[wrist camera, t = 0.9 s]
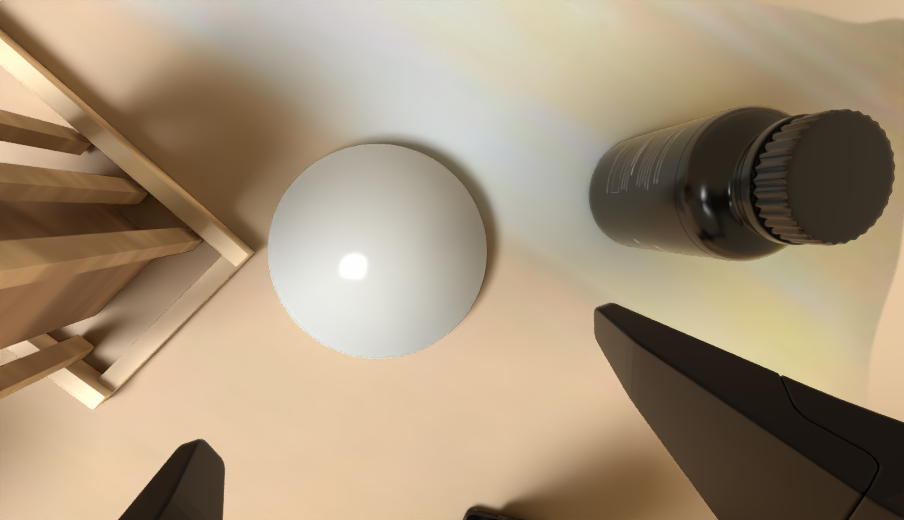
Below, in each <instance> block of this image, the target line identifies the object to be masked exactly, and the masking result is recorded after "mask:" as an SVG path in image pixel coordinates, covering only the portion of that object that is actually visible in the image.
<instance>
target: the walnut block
mask: <svg viewBox="0 0 904 520" xmlns="http://www.w3.org/2000/svg"><path fill="white" fill-rule="evenodd" d="M138 230H139V229H138V228H136V227H135V226H134V225H133V224H132V223H130V222H129V221H128V220H127V219H126V218H124V217H123V216H122V215H121V214H120V213H118V212H117V211H116V210H115V209H114V208H112V207H111V206H110V205H109V204H107V203H73V202H39V201H6V200H0V241H7V240H20V239H33V238H46V237H60V236H73V235H86V234H99V233H112V232H125V231H138ZM151 260H152V259H148V260H143V261H138V262H133V263H128V264H123V265H118V266H113V267H108V268H103V269H98V270H93V271H88V272H83V273H78V274H73V275H68V276H63V277H58V278H53V279H48V280H43V281H38V282H33V283H29V284H24V285H19V286H14V287H9V288H4V289H0V349H3V348H6V347H9V346H12V345H14V344H17V343H20V342H23V341H26V340H28V339H31V338H34V337H37V336H40V335H42V334H45V333H48V332H51V331H53V330H56V329H59V328H62V327H65V326H67V325H70V324H73V323H76V322H79V321H81V320H84V319H87V318H90V317H93V316H95V315H96V314H97V313H98V312H99V311H100V310H101V309H102V308H103V307H104V306H105V305H106V304H107V303H108V302H109V301H110V300H111V299H112V298H113V297H114V296H115V295H116V294H117V293H118V292H119V291H120V290H121V289H122V288H123V287H124V286H125V285H126V284H127V283H128V282H129V281H130V280H131V279H132V278H133V277H134V276H135V275H136V274H137V273H138V272H140V271H141V270H142V269H143V268H144V267H145V266H146V265H147V264H148V263H149V262H150V261H151Z"/></svg>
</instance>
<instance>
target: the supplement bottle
mask: <svg viewBox="0 0 904 520" xmlns="http://www.w3.org/2000/svg"><path fill="white" fill-rule="evenodd" d="M893 156H894V153H893V151H892V149H891V145H890V141H889V140H888V138H887V137H886V133H885V131H884V130H883V129H881V128H880V126H879V124H878V122H876V121H873V120H872V119H871V117H870V116H869V115H863V114H862V113H861V112H860V111H851V110H849V109H842V110H830V111H825V112H821V113H816V114H802V115H796V116H791V115H789V114H787V113H785V112H783V111H780V110H778V109H775V108H771V107H766V106H743V107H738V108H734V109H730V110H726V111H723V112H719V113H716V114H712V115H709V116H705V117H702V118H698V119H695V120H692V121H688V122H685V123H681V124H678V125H674V126H671V127H668V128H664V129H661V130H657V131H654V132H651V133H647V134H644V135H640V136H637V137H634V138H631V139H628V140H625V141H623V142H621V143H619V144H617V145H616V146H614V147H613V148H612V149H610V150H609V151H608V152H607V153H606V154H605V155H604V156H603V157H602V159H601V160H600V161H599V163H598V165H597V166H596V168H595V170H594V173H593V175H592V179H591V182H590V189H589V201H590V207H591V211H592V214H593V217H594V219H595V221H596V223H597V225H598V226H599V228H600V229H601V230H602V231H603V232H604V233H605V234H606V235H607V236H608V237H609V238H611V239H612V240H614V241H616V242H618V243H620V244H622V245H626V246H630V247H636V248H642V249H649V250H657V251H664V252H671V253H679V254H686V255H693V256H700V257H708V258H715V259H722V260H732V261H750V260H756V259H760V258H763V257H767V256H769V255H771V254H774V253H776V252H778V251H780V250H781V249H783V248H785V247H786V246H788V245H789V244H790V245H802V244H814V245H836V244H845V243H847V242H848V241H850V240H856V239H857V238H858V237H859V236H860V235H862V234H865V233H866V232H867V230H868V229H869V228H870V227H872V226H873V225H874V224H875V222H876V220H877V219H878V218H879V217H880V216H881V215H882V213H883V210H884V208H885V207H886V205H887V204H888V200H889V196H890V195H891V193H892V184H893V182H894V179H895V178H894V169H895V164H894V161H893Z"/></svg>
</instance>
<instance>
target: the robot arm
mask: <svg viewBox="0 0 904 520" xmlns="http://www.w3.org/2000/svg"><path fill="white" fill-rule="evenodd" d="M594 332H595V337H596V340H597V342H598V344H599V346H600V348H601V349H602V351H603V353H604V355H605V356H606V358H607V360H608V362H609V363H610V365H611V367H612V369H613V370H614V372H615V374H616V375H617V377H618V379H619V381H620V382H621V384H622V386H623V388H624V389H625V391H626V393H627V394H628V396H629V398H630V399H631V401H632V402H633V403H634V405H635V406H636V408H637V409H638V410H639V412H640V413H641V415H642V416H643V417H644V419H645V420H646V421H647V423H648V424H649V425H650V427H651V428H652V430H653V431H654V432H655V434H656V435H657V436H658V438H659V439H660V441H661V442H662V443H663V445H664V446H665V447H666V449H667V450H668V451H669V453H670V454H671V456H672V457H673V458H674V460H675V461H676V462H677V464H678V465H679V467H680V468H681V469H682V471H683V472H684V473H685V475H686V476H687V477H688V479H689V480H690V482H691V483H692V484H693V486H694V487H695V488H696V490H697V491H698V492H699V494H700V495H701V497H702V498H703V499H704V501H705V502H706V503H707V505H708V506H709V508H710V509H711V510H712V512H713V513H714V514H715V516H716V517H717V518H718V520H904V422H901V421H898V420H896V419H893V418H890V417H887V416H885V415H882V414H879V413H876V412H873V411H871V410H868V409H866V408H863V407H860V406H858V405H855V404H852V403H849V402H847V401H844V400H841V399H839V398H836V397H834V396H831V395H829V394H827V393H824V392H822V391H819V390H817V389H814V388H812V387H809V386H807V385H805V384H802V383H800V382H798V381H795V380H793V379H791V378H788V377H786V376H783V375H782V376H780V375H779V374H778V373H776V372H774V371H771V370H769V369H767V368H764V367H762V366H760V365H757V364H755V363H753V362H750V361H748V360H746V359H743V358H741V357H739V356H736V355H734V354H732V353H729V352H727V351H725V350H722V349H720V348H718V347H715V346H713V345H711V344H708V343H706V342H704V341H701V340H699V339H697V338H694V337H692V336H690V335H687V334H685V333H683V332H680V331H678V330H676V329H673V328H671V327H669V326H666V325H664V324H662V323H659V322H657V321H655V320H652V319H650V318H648V317H645V316H643V315H641V314H638V313H636V312H634V311H631V310H629V309H627V308H624V307H622V306H620V305H617V304H615V303H608V304H605V305H602V306H599V307H597V308H596V309H595V311H594ZM224 480H225V466H224V462H223V460H222V458H221V457H220V456H219V455H218V454H217V453H216V452H215V451H214V449H213V448H212V447H211V446H210V445H209V444H208V443H207V442H206V441H205V440H203V439H197V440H194V441H191V442H188V443H185V444H183V445H181V446H180V447H178V449H177V450H176V451H175V452H174V453H173V454H172V456H171V457H170V458H169V459H168V460H167V462H166V463H165V464H164V465H163V466H162V468H161V469H160V470H159V471H158V472H157V474H156V475H155V476H154V477H153V478H152V480H151V481H150V482H149V483H148V484H147V486H146V487H145V488H144V489H143V490H142V492H141V493H140V494H139V495H138V496H137V498H136V499H135V500H134V501H133V502H132V504H131V505H130V506H129V507H128V508H127V510H126V511H125V512H124V513H123V515H122V516H121V517H120V518H119V519H118V520H223V504H224ZM472 518H475V519H474V520H520V519H515V518H511V517H506V516H498V515H493V514H489V513H484V512H480V511H476V510H470V511H468V512H467V513H466V514H465V516H464V518H463V520H470V519H472Z"/></svg>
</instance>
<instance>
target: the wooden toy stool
mask: <svg viewBox="0 0 904 520" xmlns="http://www.w3.org/2000/svg"><path fill="white" fill-rule="evenodd" d="M0 141H5V142H11V143H16V144H22V145H27V146H32V147H38V148H43V149H49V150H54V151H59V152H65V153H70V154H76V155H81V154H82V153H83V152H84V151H85V150H86V149H87V148H88V147H89V146H90V145H91V143H90V142H88V141H87V140H86V139H85V138H84V137H83V136H81V135H80V134H79V133H78V132H77V131H76V130H74V129H72V128H68V127H64V126H60V125H56V124H53V123H49V122H45V121H41V120H38V119H34V118H30V117H26V116H23V115H19V114H15V113H11V112H8V111H4V110H0ZM148 194H149V193H148V192H147V191H146V190H144V189H143V188H142V187H141V186H140V185H139V184H137V183H136V182H135V181H134V180H133V179H125V178H117V177H109V176H101V175H93V174H86V173H78V172H70V171H62V170H54V169H46V168H39V167H31V166H23V165H15V164H7V163H0V200H6V201H39V202H73V203H107V204H139V203H140V202H141V201H142V200H143V199H144V198H145V197H146V196H147V195H148ZM202 240H203V239H201V238H200V237H199V236H198V235H197V234H196V233H194V232H193V231H192V230H191V229H190V228H189V227H178V228H164V229H151V230H138V231H125V232H112V233H99V234H86V235H73V236H60V237H46V238H33V239H20V240H7V241H0V289H4V288H9V287H14V286H19V285H24V284H29V283H33V282H38V281H43V280H48V279H53V278H58V277H63V276H68V275H73V274H78V273H83V272H88V271H93V270H98V269H103V268H108V267H113V266H118V265H123V264H128V263H133V262H138V261H143V260H148V259H153V258H158V257H162V256H167V255H172V254H177V253H182V252H187V251H192V250H193V249H194V248H195V247H196V246H197V245H198V244H199V243H200V242H201V241H202ZM94 348H95V347H94V346H93V345H91V344H90V343H89V342H87V341H86V340H85V339H83V338H82V337H81V336H79V335H77V336H74V337H72V338H69V339H67V340H64V341H62V342H59V343H57V344H54V345H52V346H49V347H47V348H44V349H42V350H39V351H37V352H34V353H32V354H29V355H27V356H24V357H22V358H19V359H17V360H15V361H12V362H10V363H7V364H5V365H2V366H0V399H1V398H3V397H5V396H7V395H9V394H11V393H13V392H15V391H17V390H19V389H21V388H23V387H25V386H27V385H29V384H32V383H34V382H36V381H38V380H40V379H42V378H44V377H46V376H48V375H50V374H52V373H54V372H56V371H58V370H60V369H62V368H64V367H66V366H69V365H71V364H73V363H75V362H77V361H79V360H81V359H83V358H84V357H85V356H86V355H88V354H89V353H90V352H91V351H92V350H93V349H94Z"/></svg>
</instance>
